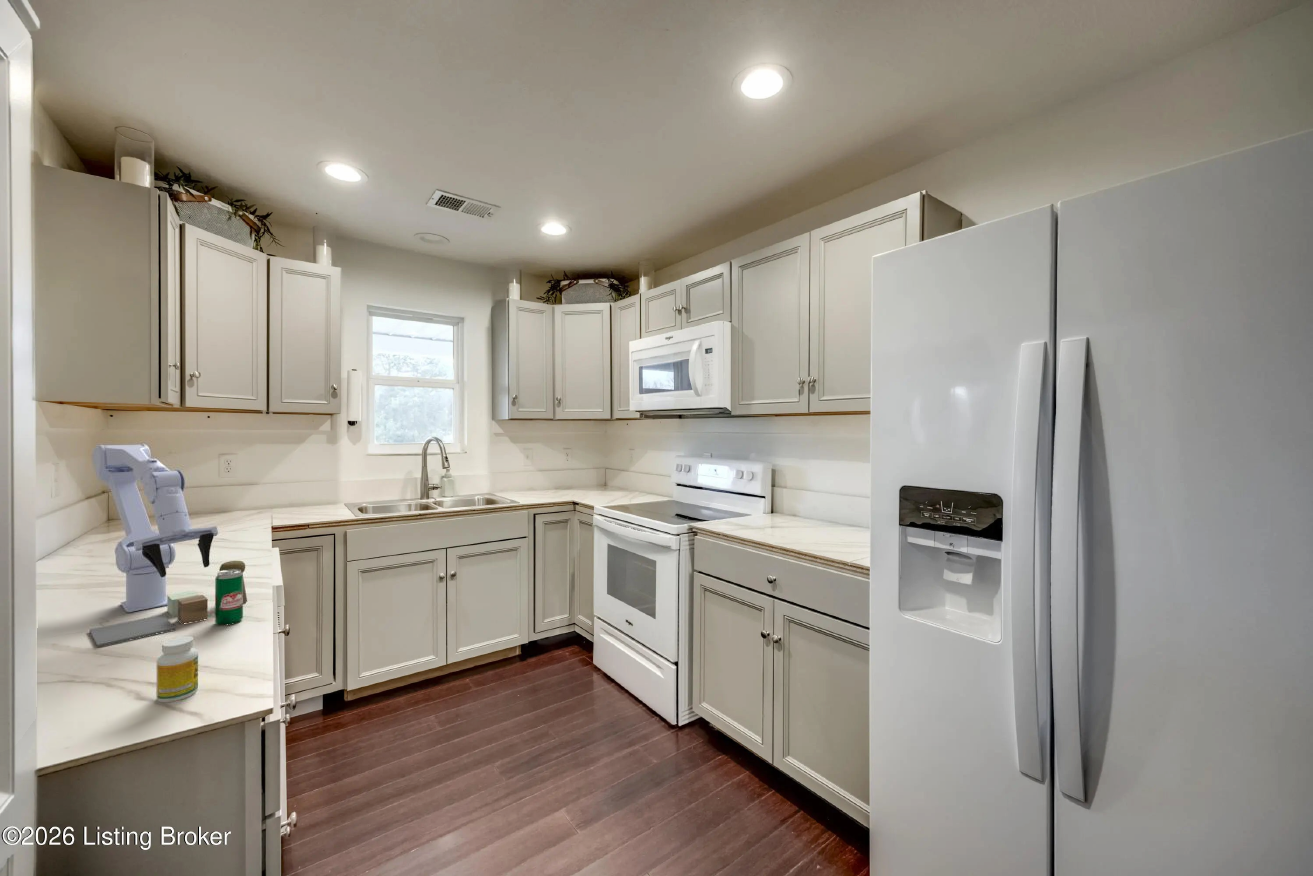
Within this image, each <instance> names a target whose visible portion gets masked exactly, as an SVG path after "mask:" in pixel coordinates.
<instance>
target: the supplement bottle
mask: <svg viewBox="0 0 1313 876" xmlns="http://www.w3.org/2000/svg"><path fill="white" fill-rule="evenodd" d="M193 646H194V638H193V637H192V636H179V637H175V638H171V639H168V640H166V641H164V642H162V644H161V652H162V654H161V655H159V657H157V660H156V691H155V692H156V693H155V694H156V695H155V696H156V699H157V701H158V702H160V703H173V702H178V701H181V700H184V699H187V698H189V697H191V696H193V695H194V694H195V693H196V692H197V691H198V689H199V652H198V650H197V649H196V648H194V647H193ZM192 694H193V695H192Z"/></svg>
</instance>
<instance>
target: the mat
mask: <svg viewBox="0 0 1313 876" xmlns="http://www.w3.org/2000/svg"><path fill="white" fill-rule="evenodd" d="M171 630H174V631H175V630H176V627H175V626H174V624H172V623H171V621H170V620H169V619H168V618H167V617H166V615H164V614H159V615H154V616H150V617H145V618H144V617H143V618H140V619H133V620H129V621H125V622H120V623H115V624H114V623H113V624H109V625H105V626H100V627H95V628H91V629H89V634H90V633H91V634H90V636H91V638H92V640H93V639H94V640H93V642H94V644H95V643H96V644H95V646H96V645H97V646H96V647H98V648H102V647H101V646H103V647H106V645H107V646H110V645H109V644H112V645H115V644H114V643H116V644H120V643H123V642H122V641H125V642H127V641H126V640H129V641H131V640H130V639H134V640H136V638H138V639H140V638H139V637H143V636H147V637H150V636H149V635H151V636H153V635H152V634H156V633H160V634H162V633H161V632H165V633H167V632H166V631H169V632H172V631H171ZM156 635H157V634H156ZM143 638H144V637H143ZM119 642H120V643H119Z"/></svg>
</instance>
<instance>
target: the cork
mask: <svg viewBox="0 0 1313 876" xmlns="http://www.w3.org/2000/svg"><path fill="white" fill-rule="evenodd" d="M231 569H239V570H241V573H242V574H243V573H244V572H245V570H246V564H245V562H244V561H242V560H230V561H226V562H223V563H222V564H221V565H220V567H219V571H218V572H221V571H224V570H231ZM243 575H244V574H243ZM246 602H247V603H248V597H247V592H246V584H245V578H244V577H243V605H245V604H247V603H246Z"/></svg>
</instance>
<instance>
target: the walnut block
mask: <svg viewBox="0 0 1313 876" xmlns="http://www.w3.org/2000/svg"><path fill="white" fill-rule="evenodd" d="M208 607H209V606H208V598H207V597H206V596H205V595H203V594H199V595H198V596H193V597H188V598H183V599H178V615H177V621H178V620H179V621H180V622H181V623H182V624H184V623H189V622H194V623H196V622H195V621H198V622H201V621H200V620H203V621H205V620H204V619H207V620H208V610H209V609H208ZM179 621H178V622H179ZM180 622H179V623H180ZM181 623H180V624H181ZM182 624H181V625H182ZM189 624H190V623H189ZM184 625H185V624H184Z"/></svg>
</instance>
